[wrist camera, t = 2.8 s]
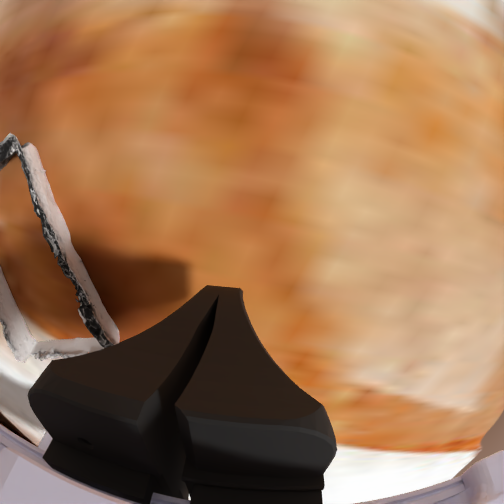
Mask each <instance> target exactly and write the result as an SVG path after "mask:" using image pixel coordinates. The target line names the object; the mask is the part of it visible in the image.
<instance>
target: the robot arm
mask: <svg viewBox="0 0 504 504" xmlns="http://www.w3.org/2000/svg"><path fill="white" fill-rule="evenodd" d="M28 399H29V403H30V406H31V408H32V410H33V412H34V413H35V415H36V416H37V418H38V419H39V421H40V422H41V423H42V425H43V426H44V428H45V429H46V430H47V431H46V433H45V435H44V436H43V438H42V440H41V441H40V443H39V445H38V447H37V446H35V445H33V444H31V443H30V442H28V441H26V440H24V439H23V438H21V437H19V436H18V435H16V434H15V433H13V432H11V431H10V430H8V429H7V428H5V427H4V426H2V425H1V424H0V504H322V491H321V490H323V489H324V475H323V474H324V472H325V471H326V469H327V468H328V466H329V465H330V463H331V462H332V460H333V458H334V457H335V454H336V451H337V447H336V439H335V435H334V432H333V428H332V425H331V423H330V420H329V417H328V415H327V413H326V410H325V408H324V406H323V405H322V404H321V403H319V402H318V401H317V400H315V399H314V398H312V397H311V396H310V395H308V394H307V393H306V392H304V391H303V390H302V389H300V388H299V387H298V386H297V385H296V384H295V383H294V382H293V381H292V380H291V379H290V378H289V377H288V376H287V375H286V374H285V373H284V372H283V371H282V370H281V368H280V367H279V366H278V365H277V364H276V363H275V362H274V360H273V359H272V358H271V356H270V355H269V354H268V352H267V351H266V349H265V348H264V346H263V345H262V343H261V342H260V340H259V338H258V336H257V335H256V333H255V331H254V329H253V327H252V325H251V322H250V320H249V317H248V315H247V312H246V309H245V306H244V302H243V291H242V290H241V289H240V288H231V287H220V286H209V285H207V286H205V287H204V288H203V289H202V290H200V291H199V292H198V293H197V294H196V295H195V296H194V297H192V298H191V299H190V300H189V301H188V302H186V303H185V304H184V305H183V306H181V307H180V308H179V309H178V310H176V311H175V312H174V313H172V314H171V315H169V316H168V317H167V318H165V319H164V320H162V321H161V322H159V323H158V324H156V325H154V326H153V327H151V328H149V329H147V330H146V331H144V332H142V333H140V334H138V335H136V336H134V337H131V338H129V339H127V340H125V341H122V342H120V343H118V344H115V345H113V346H110V347H107V348H104V349H101V350H98V351H94V352H91V353H87V354H83V355H79V356H74V357H69V358H64V359H58V360H52V361H51V363H50V364H49V365H48V366H47V368H46V369H45V370H44V372H43V373H42V374H41V375H40V377H39V378H38V379H37V381H36V382H35V383H34V385H33V386H32V388H31V389H30V390H29V393H28ZM189 495H190V497H191V501H190V500H188V496H189ZM355 504H504V451H503V450H501V451H499V452H496V453H494V454H492V455H490V456H488V457H485V458H484V459H481V460H479V461H477V462H476V463H474V464H473V465H472V466H470V467H469V468H468V469H467V470H466V471H465V472H464V473H463V474H462V475H461V476H459V477H456V478H453V479H451V480H448V481H445V482H442V483H439V484H436V485H433V486H430V487H427V488H423V489H420V490H416V491H413V492H409V493H405V494H401V495H397V496H393V497H388V498H383V499H378V500H373V501H367V502H361V503H355Z"/></svg>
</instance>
